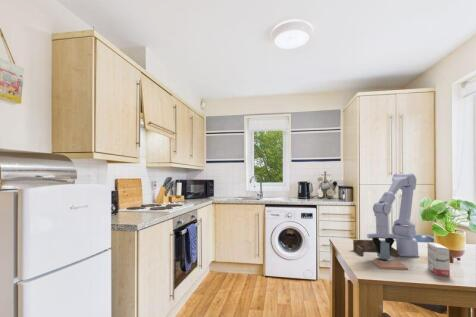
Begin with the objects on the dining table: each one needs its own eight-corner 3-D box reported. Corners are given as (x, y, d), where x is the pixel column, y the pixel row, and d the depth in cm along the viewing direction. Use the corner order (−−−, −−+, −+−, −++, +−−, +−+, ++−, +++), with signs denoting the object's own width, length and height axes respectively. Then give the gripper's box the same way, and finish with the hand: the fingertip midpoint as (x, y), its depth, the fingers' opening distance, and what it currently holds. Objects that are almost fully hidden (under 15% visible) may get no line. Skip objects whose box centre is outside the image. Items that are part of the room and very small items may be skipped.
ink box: (451, 276, 109) (449, 248, 110) (437, 275, 110) (436, 247, 111) (439, 269, 118) (438, 242, 119) (427, 268, 119) (426, 242, 120)
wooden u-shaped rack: (390, 251, 145) (389, 240, 145) (399, 257, 135) (398, 245, 135) (353, 250, 147) (353, 239, 148) (359, 255, 137) (359, 244, 138)
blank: (385, 256, 133) (384, 240, 134) (389, 259, 129) (389, 243, 129) (377, 255, 134) (376, 240, 134) (381, 259, 129) (380, 243, 129)
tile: (399, 263, 125) (399, 261, 125) (408, 269, 117) (408, 267, 117) (373, 262, 126) (373, 260, 127) (380, 268, 119) (380, 266, 119)
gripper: (370, 227, 129) (371, 254, 128) (401, 227, 127) (402, 255, 126) (365, 224, 136) (366, 250, 135) (394, 225, 134) (395, 251, 133)
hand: (383, 252), depth 131 cm, fingers closed on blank, 4 cm apart
